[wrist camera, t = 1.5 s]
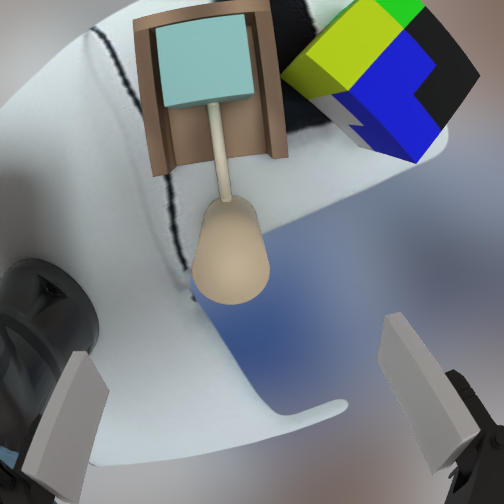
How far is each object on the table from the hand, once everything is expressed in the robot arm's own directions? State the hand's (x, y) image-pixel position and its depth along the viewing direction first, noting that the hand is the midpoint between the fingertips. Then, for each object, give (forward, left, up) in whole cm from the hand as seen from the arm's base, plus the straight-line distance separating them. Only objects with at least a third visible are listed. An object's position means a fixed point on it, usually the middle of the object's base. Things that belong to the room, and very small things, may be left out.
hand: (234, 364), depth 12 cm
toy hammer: (0, +7, -18) cm, 20 cm away
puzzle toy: (+13, +13, -19) cm, 26 cm away
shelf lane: (0, +12, -18) cm, 22 cm away
